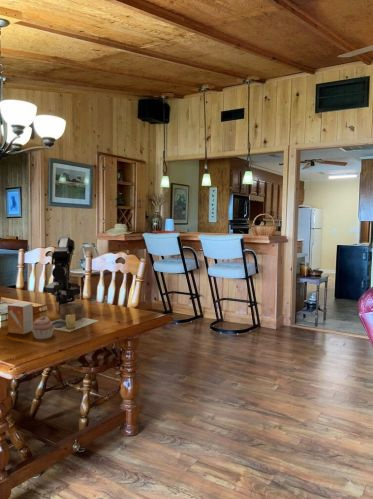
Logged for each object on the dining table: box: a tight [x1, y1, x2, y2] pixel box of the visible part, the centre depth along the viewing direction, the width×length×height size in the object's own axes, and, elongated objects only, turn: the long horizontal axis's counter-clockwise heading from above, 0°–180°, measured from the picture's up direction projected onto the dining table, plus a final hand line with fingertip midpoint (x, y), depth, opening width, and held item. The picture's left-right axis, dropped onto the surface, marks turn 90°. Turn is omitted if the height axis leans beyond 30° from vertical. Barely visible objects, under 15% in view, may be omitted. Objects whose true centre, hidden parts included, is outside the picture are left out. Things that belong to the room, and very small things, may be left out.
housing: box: [59, 301, 84, 321], centre depth 195 cm, size 8×7×7 cm
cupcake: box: [31, 315, 55, 340], centre depth 169 cm, size 9×9×10 cm
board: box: [51, 317, 100, 333], centre depth 189 cm, size 18×20×5 cm
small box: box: [7, 301, 34, 335], centre depth 176 cm, size 8×6×13 cm
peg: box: [66, 314, 75, 330], centre depth 180 cm, size 4×4×6 cm
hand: (62, 307), depth 198 cm, fingers closed
